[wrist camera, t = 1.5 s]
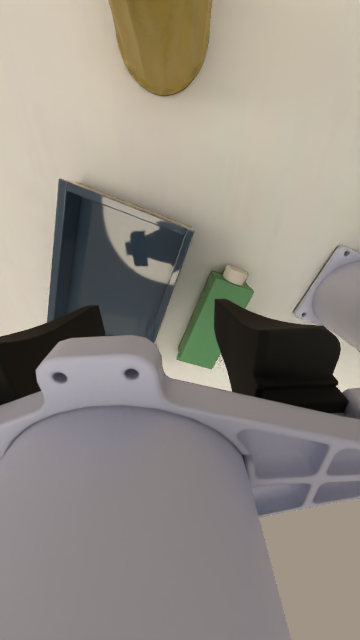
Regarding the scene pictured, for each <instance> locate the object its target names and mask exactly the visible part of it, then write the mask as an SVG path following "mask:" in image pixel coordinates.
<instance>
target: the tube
mask: <svg viewBox="0 0 360 640" xmlns="http://www.w3.org/2000/svg"><path fill="white" fill-rule="evenodd" d="M247 276H248V273H247V272H246V271H244V270H242V269H240V268H237V267H235V266H232V265H227V266H226V269H225V271H224V273H223V275H222V274H220V273H217V272H214V271H211V274H210V276H209V278H208V280H207V283H206V285H205V287H204V290H203V292H202V294H201V297H200V299H199V301H198V304H197V306H196V308H195V311H194V313H193V315H192V318H191V320H190V322H189V325H188V327H187V329H186V331H185V334H184V336H183V338H182V341H181V343H180V345H179V353H178V356H177V360H180V361H183V362H187V363H190V364H194V365H198V366H201V367H205V368H209V369H212V368H213V366H214V364H215V362H216V361H217V359H218V357H219V355H220V353H221V352H220V349H219V346H218V343H217V341H216V336H215V331H214V306H215V299H223V298H225V299H227V300H229V301H231V302H233V303H235V304H237V305H238V306H240V307H242V308H244V309H245V308H246V306H247V304H248V302H249V300H250V299H251V297H252V295H253V293H254V291H253V290H252V289H251V288H250V287H249V286H248V285H247V283H244V282H245V280H246V278H247Z"/></svg>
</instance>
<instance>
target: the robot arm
mask: <svg viewBox="0 0 360 640" xmlns="http://www.w3.org/2000/svg"><path fill="white" fill-rule="evenodd" d="M346 251H347V253H346V254H345V255H344V253H345V252H346ZM303 313H304V314H303ZM302 314H303V315H302ZM294 315H295V316H296V317H298V318H301V319H304V320H307V321H310V322H313V323H316V324H319V325H322V326H317V325H302V324H294V323H288V322H282V321H278V320H274V319H270V318H266V317H264V316H261V315H258V314H255V313H253V312H251V311H248V310H246V309H244V308H242V307H240V306H238V305H237V304H235V303H233V302H231V301H229V300H227V299H225V298H223V299H215V306H214V331H215V336H216V341H217V343H218V346H219V349H220V352H221V354H222V357H223V360H224V362H225V365H226V368H227V371H228V375H229V379H230V384H231V388H232V392H230V391H226V390H221V389H217V388H212V387H208V386H203V385H199V384H194V383H190V382H185V381H181V380H176V379H172V378H169V377H168V376H166V375H165V373H164V371H163V367H162V358H161V354H160V352H159V350H158V347H157V345H156V344H154V343H153V342H151V341H150V340H149V339H147V338H146V337H140V336H134V335H121V336H105V329H104V325H103V321H102V317H101V313H100V309H99V305H88V306H85V307H82V308H79V309H77V310H75V311H73V312H71V313H68V314H66V315H64V316H62V317H59V318H57V319H55V320H52V321H50V322H48V323H45V324H43V325H40V326H37V327H34V328H31V329H28V330H24V331H21V332H17V333H13V334H10V335H5V336H1V337H0V640H291V638H290V633H289V630H288V626H287V622H286V618H285V614H284V611H283V607H282V603H281V600H280V596H279V592H278V588H277V584H276V581H275V577H274V573H273V570H272V565H271V562H270V558H269V554H268V550H267V547H266V543H265V539H264V536H263V531H262V528H261V524H260V520H259V518H260V517H265V516H270V515H275V514H280V513H285V512H290V511H296V510H301V509H306V508H311V507H316V506H321V505H326V504H331V503H337V502H342V501H348V500H354V499H360V388H353V389H347V390H345V391H344V392H343V393H341V391H340V390H339V389H338V388H337V387H336V385H338V381H337V379H336V378H335V377H334V376H333V372H334V369H335V367H336V364H337V361H338V359H339V355H340V351H341V347H340V342H339V340H338V339H337V337H336V336H335V335H333V334H332V333H331V332H330V331H329V330H327V329H326V328H325V327H327V328H330V329H331V330H333V331H334V332H335V333H336V334H338V335H339V336H340V337H342V338H343V339H344V340H345V341H347V342H348V343H349V344H350V345H352V346H353V347H354V348H355V349H357V350H358V351H359V352H360V252H357V251H355V250H353V249H350V248H348V247H346V246H339V247H338V248H337V249H336V250H335V252H334V253H333V255H332V256H331V258H330V259H329V260H328V262H327V263H326V265H325V266H324V268H323V269H322V271H321V272H320V274H319V275H318V277H317V278H316V280H315V281H314V283H313V284H312V286H311V287H310V289H309V290H308V292H307V293H306V295H305V296H304V298H303V299H302V301H301V302H300V304H299V305H298V307H297V308H296V310H295V311H294Z"/></svg>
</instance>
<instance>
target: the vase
mask: <svg viewBox="0 0 360 640" xmlns="http://www.w3.org/2000/svg"><path fill="white" fill-rule="evenodd" d="M109 4H110V8H111V11H112V15H113V19H114V24H115V29H116V37H117V42H118V46H119V50H120V53H121V55H122V58H123V60H124V63H125V65H126V67H127V69H128V71H129V72H130V74H131V75H132V76H133V77H134V79H135V80H136V81H137V82H138V83H139V84H140V85H141V86H142V87H144V88H145V89H147V90H148V91H150V92H152V93H155V94H159V95H170V94H174V93H177V92H179V91H181V90H182V89H184V88H185V87H187V85H188V84H189V83H190V82H191V81H192V80H193V79H194V77H195V76H196V74H197V73H198V71H199V70H200V68H201V66H202V64H203V61H204V58H205V55H206V51H207V47H208V42H209V27H210V18H211V7H212V0H109Z"/></svg>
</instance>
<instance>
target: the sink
mask: <svg viewBox="0 0 360 640" xmlns="http://www.w3.org/2000/svg"><path fill="white" fill-rule="evenodd" d="M193 234H194V230H193V229H192V227H190V226H187V225H185V224H182V223H180V222H177V221H175V220H172V219H170V218H167V217H164V216H162V215H159V214H157V213H154V212H152V211H149V210H147V209H144V208H142V207H139V206H137V205H134V204H131V203H129V202H126V201H124V200H121V199H119V198H116V197H114V196H111V195H109V194H106V193H103V192H101V191H98V190H96V189H93V188H91V187H88V186H86V185H83V184H81V183H77V182H73V181H68V180H64V179H59V184H58V196H57V208H56V221H55V233H54V245H53V257H52V269H51V281H50V294H49V306H48V318H47V323H48V322H50V321H52V320H55V319H57V318H59V317H62V316H64V315H66V314H68V313H71V312H73V311H75V310H77V309H79V308H82V307H85V306H88V305H99V309H100V313H101V317H102V321H103V325H104V329H105V336H121V335H134V336H140V337H146V338H147V339H149V340H150V341H151V342H153V343H154V341H155V339H156V336H157V333H158V330H159V327H160V325H161V322H162V319H163V316H164V314H165V311H166V308H167V305H168V303H169V300H170V297H171V294H172V292H173V289H174V286H175V283H176V281H177V278H178V275H179V272H180V270H181V267H182V264H183V261H184V259H185V256H186V253H187V250H188V248H189V245H190V242H191V239H192V237H193Z"/></svg>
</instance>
